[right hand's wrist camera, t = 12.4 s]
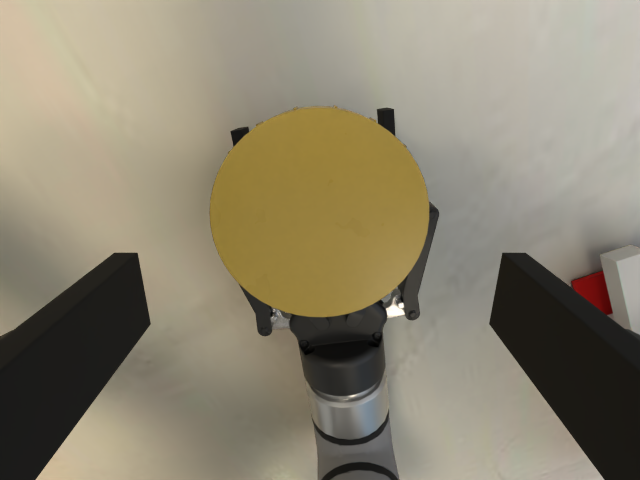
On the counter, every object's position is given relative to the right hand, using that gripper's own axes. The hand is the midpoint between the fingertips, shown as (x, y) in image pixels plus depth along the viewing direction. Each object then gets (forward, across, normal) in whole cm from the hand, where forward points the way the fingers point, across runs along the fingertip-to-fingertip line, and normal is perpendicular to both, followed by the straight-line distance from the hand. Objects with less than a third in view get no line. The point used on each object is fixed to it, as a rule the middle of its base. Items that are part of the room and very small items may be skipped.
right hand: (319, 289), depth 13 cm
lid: (+7, 0, 0) cm, 7 cm away
